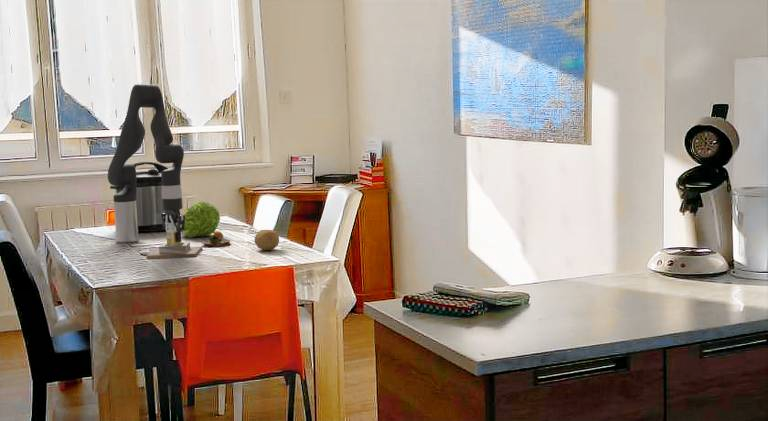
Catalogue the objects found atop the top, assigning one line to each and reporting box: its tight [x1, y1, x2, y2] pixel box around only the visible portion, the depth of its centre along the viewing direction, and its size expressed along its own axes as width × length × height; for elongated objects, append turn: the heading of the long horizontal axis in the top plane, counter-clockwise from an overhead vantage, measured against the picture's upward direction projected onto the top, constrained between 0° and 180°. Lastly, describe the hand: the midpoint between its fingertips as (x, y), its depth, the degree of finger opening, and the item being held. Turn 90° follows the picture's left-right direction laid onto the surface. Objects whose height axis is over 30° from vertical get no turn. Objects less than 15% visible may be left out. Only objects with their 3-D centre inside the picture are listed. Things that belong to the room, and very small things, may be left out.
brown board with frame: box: [146, 241, 203, 260], centre depth 346 cm, size 18×18×4 cm
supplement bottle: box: [166, 223, 182, 246], centre depth 345 cm, size 5×5×10 cm
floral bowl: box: [201, 230, 231, 248], centre depth 366 cm, size 12×12×8 cm
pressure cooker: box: [109, 161, 169, 232], centre depth 420 cm, size 30×28×32 cm
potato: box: [254, 229, 280, 251], centre depth 349 cm, size 10×14×8 cm
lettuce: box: [181, 201, 221, 238], centre depth 395 cm, size 15×25×16 cm
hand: (174, 240), depth 346 cm, fingers closed on supplement bottle, 5 cm apart
